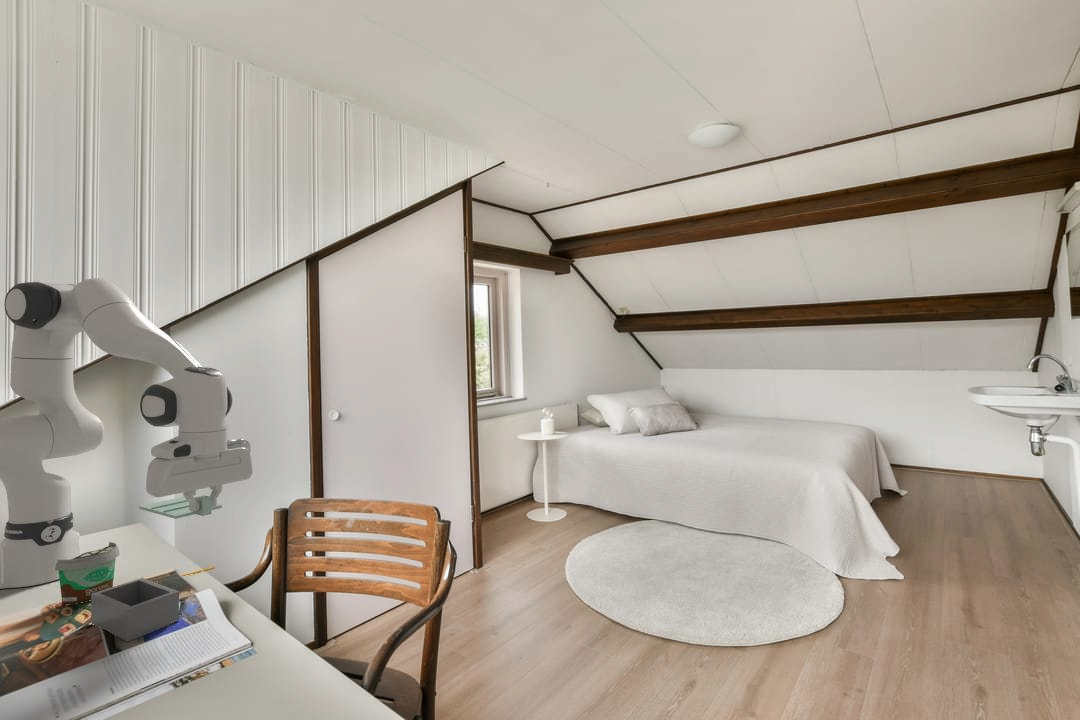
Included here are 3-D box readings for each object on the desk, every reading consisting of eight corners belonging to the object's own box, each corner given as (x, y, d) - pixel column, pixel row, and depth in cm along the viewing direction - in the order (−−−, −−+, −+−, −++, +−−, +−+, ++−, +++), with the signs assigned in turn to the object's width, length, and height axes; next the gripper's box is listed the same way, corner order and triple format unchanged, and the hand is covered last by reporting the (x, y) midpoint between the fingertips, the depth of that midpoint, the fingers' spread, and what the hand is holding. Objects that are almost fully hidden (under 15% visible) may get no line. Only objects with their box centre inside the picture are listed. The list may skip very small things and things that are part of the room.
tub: (91, 624, 107) (91, 593, 107) (142, 605, 115) (142, 577, 115) (127, 641, 101) (127, 609, 101) (179, 621, 108) (179, 591, 108)
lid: (138, 508, 118) (139, 492, 118) (185, 498, 126) (185, 483, 126) (183, 521, 110) (183, 503, 110) (229, 509, 118) (229, 493, 118)
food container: (78, 610, 113) (78, 562, 113) (54, 607, 114) (54, 560, 114) (133, 586, 125) (133, 543, 125) (111, 583, 126) (111, 541, 126)
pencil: (124, 593, 122) (124, 589, 122) (213, 569, 136) (213, 566, 136) (125, 594, 122) (125, 591, 122) (214, 570, 136) (214, 567, 136)
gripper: (241, 436, 125) (241, 495, 125) (142, 449, 107) (141, 518, 107) (258, 438, 122) (258, 499, 122) (158, 452, 104) (158, 523, 104)
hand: (203, 508), depth 115 cm, fingers closed on lid, 2 cm apart
